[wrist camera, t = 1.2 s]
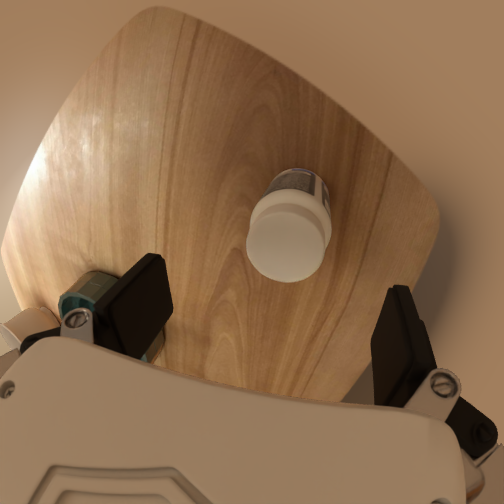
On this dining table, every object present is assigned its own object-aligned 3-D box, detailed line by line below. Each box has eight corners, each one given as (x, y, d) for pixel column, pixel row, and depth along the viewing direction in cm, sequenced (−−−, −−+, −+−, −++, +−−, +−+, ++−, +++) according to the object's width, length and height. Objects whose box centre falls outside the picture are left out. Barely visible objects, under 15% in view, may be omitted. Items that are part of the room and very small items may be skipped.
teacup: (83, 359, 46) (57, 394, 37) (33, 316, 45) (5, 345, 36) (85, 331, 39) (50, 371, 31) (28, 280, 38) (-8, 312, 30)
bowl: (70, 258, 31) (45, 278, 27) (158, 285, 29) (134, 315, 25) (95, 334, 39) (78, 354, 34) (171, 364, 36) (156, 391, 32)
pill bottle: (256, 201, 22) (220, 253, 15) (291, 154, 20) (272, 184, 12) (304, 237, 22) (292, 303, 15) (342, 194, 20) (352, 245, 13)
